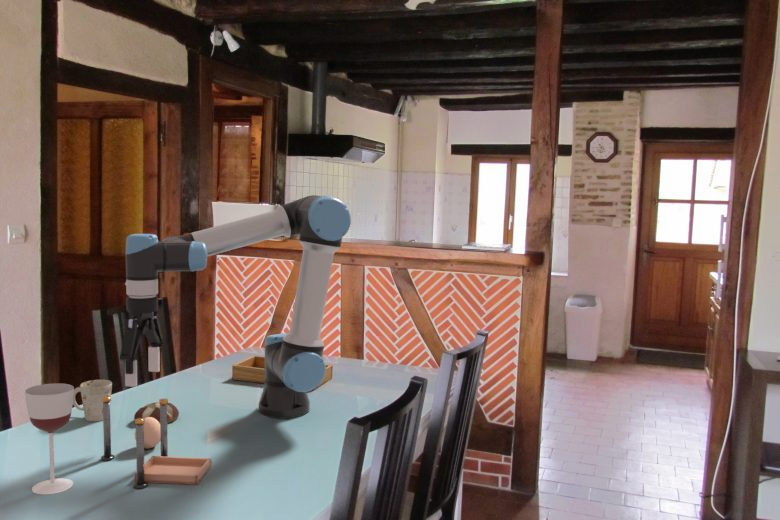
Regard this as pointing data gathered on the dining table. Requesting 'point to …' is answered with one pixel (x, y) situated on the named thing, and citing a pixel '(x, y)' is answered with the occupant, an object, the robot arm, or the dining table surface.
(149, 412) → the bread
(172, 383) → the dining table surface
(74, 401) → the mug
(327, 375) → the tray
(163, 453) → the pole corner
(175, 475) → the tray
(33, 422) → the wineglass
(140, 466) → the pole
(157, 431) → the egg
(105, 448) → the pole
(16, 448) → the dining table surface
